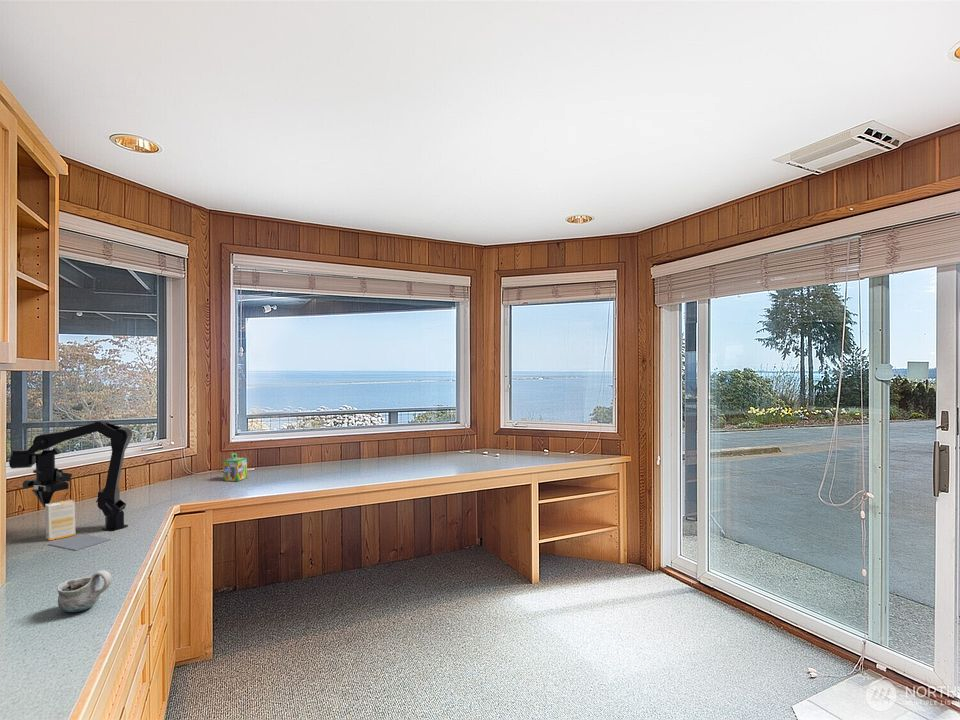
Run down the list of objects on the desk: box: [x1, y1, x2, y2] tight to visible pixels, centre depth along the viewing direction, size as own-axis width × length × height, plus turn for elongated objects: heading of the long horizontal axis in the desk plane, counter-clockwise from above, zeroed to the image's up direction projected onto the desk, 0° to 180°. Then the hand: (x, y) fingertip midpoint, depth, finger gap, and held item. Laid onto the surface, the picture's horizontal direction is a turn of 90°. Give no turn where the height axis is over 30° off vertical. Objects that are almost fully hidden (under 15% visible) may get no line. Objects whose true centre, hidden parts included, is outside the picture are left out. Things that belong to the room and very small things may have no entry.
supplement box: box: [44, 499, 76, 542], centre depth 203 cm, size 8×5×13 cm, turn 141°
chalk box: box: [222, 452, 248, 482], centre depth 299 cm, size 9×9×15 cm
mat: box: [48, 533, 112, 551], centre depth 198 cm, size 16×12×1 cm
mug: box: [56, 569, 112, 613], centre depth 145 cm, size 10×12×10 cm
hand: (46, 507), depth 207 cm, fingers closed
